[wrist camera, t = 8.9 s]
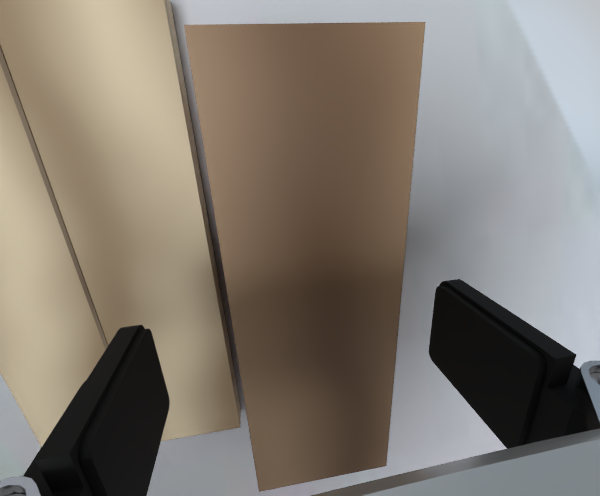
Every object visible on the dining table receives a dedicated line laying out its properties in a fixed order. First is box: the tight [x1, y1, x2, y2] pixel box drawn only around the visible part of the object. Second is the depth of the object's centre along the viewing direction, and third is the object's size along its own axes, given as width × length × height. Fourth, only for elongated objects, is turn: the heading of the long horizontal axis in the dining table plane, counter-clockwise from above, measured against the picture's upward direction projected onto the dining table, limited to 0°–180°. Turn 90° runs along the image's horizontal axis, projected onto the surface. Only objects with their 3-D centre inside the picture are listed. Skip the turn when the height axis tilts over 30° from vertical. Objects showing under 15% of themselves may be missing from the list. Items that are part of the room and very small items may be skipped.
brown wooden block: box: [184, 22, 425, 492], centre depth 13 cm, size 6×16×6 cm, turn 3°
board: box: [0, 0, 241, 448], centre depth 14 cm, size 15×20×1 cm
